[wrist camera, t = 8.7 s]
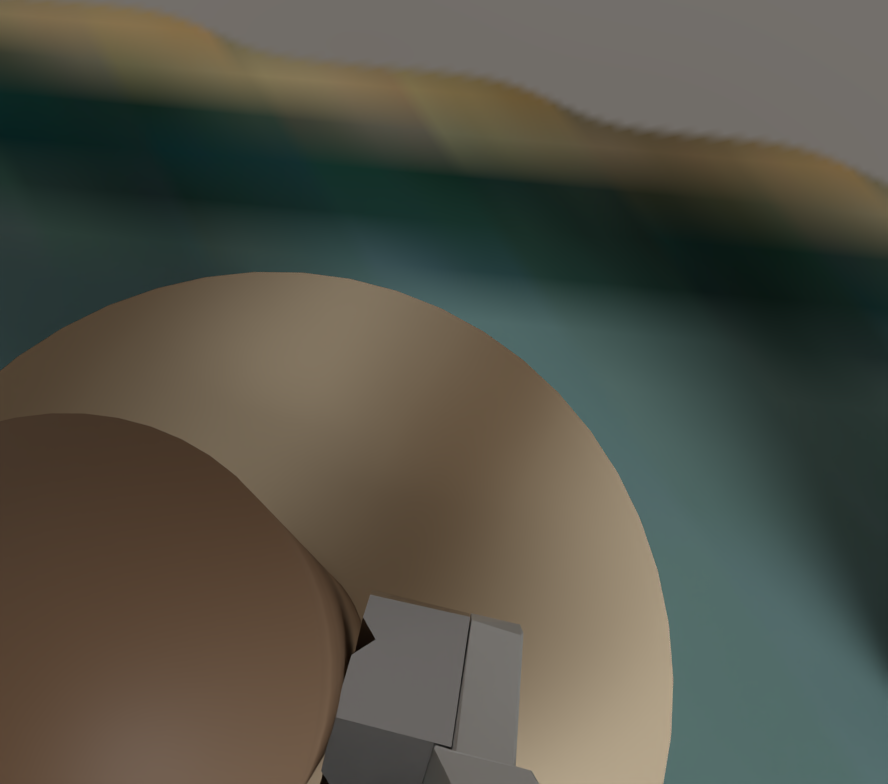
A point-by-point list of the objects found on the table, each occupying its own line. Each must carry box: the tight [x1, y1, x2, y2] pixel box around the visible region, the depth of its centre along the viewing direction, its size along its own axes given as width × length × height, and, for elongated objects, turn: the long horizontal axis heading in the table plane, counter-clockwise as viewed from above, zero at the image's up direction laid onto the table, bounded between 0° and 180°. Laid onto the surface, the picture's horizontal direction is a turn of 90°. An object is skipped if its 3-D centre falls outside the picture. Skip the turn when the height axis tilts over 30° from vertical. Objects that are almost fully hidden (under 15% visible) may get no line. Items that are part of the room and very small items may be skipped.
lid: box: [0, 272, 673, 784], centre depth 9 cm, size 12×12×9 cm
